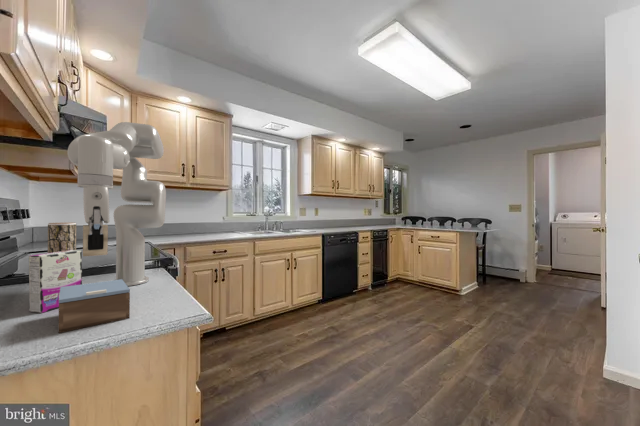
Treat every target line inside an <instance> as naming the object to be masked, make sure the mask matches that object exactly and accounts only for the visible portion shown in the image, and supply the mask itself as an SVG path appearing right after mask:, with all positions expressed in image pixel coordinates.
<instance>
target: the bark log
mask: <svg viewBox="0 0 640 426" xmlns="http://www.w3.org/2000/svg"><path fill="white" fill-rule="evenodd" d="M68 250H77V222H48V223H47V253H53V252H60V251H68Z"/></svg>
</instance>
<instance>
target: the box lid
mask: <svg viewBox="0 0 640 426" xmlns="http://www.w3.org/2000/svg"><path fill="white" fill-rule="evenodd" d="M127 292H130V293H131V288H130V287H129V286H127V285H126V284H125V282H124V281H123V280H122V279H120V280H115V279H113V280H106V281H98V282H90V283H82V284H81V285H73V286H66V287H61V288H60V295H59V303H64V302H70V301H77V300H83V299H89V298H96V297H102V296H108V295H115V294H121V293H127Z"/></svg>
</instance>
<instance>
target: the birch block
mask: <svg viewBox="0 0 640 426" xmlns="http://www.w3.org/2000/svg"><path fill="white" fill-rule="evenodd" d="M108 230H109V226H108V224H103V234H104V244H103V249H100V250H88V235H89V225H88V224H83V226H82V256H83V257H93V256H97V257H98V256H106V255H108V251H109V250H108V249H109V248H108V246H109V244H108V243H109V241H108V240H109V231H108Z"/></svg>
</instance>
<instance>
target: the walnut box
mask: <svg viewBox="0 0 640 426" xmlns="http://www.w3.org/2000/svg"><path fill="white" fill-rule="evenodd" d="M130 298H131V291H130V292H127V293H121V294H115V295H108V296H102V297H96V298H89V299H83V300H77V301H70V302H64V303H59V308H58V334H62V333H67V332H71V331H75V330H80V329H85V328H90V327H93V326H94V327H95V326H100V325H104V324H110V323H114V322H117V321H118V322H119V321H123V320H128V319H130V317H131V316H130V315H131V314H130V311H131V310H130V309H131V307H130V306H131V305H130V304H131V303H130V301H131V299H130Z"/></svg>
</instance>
